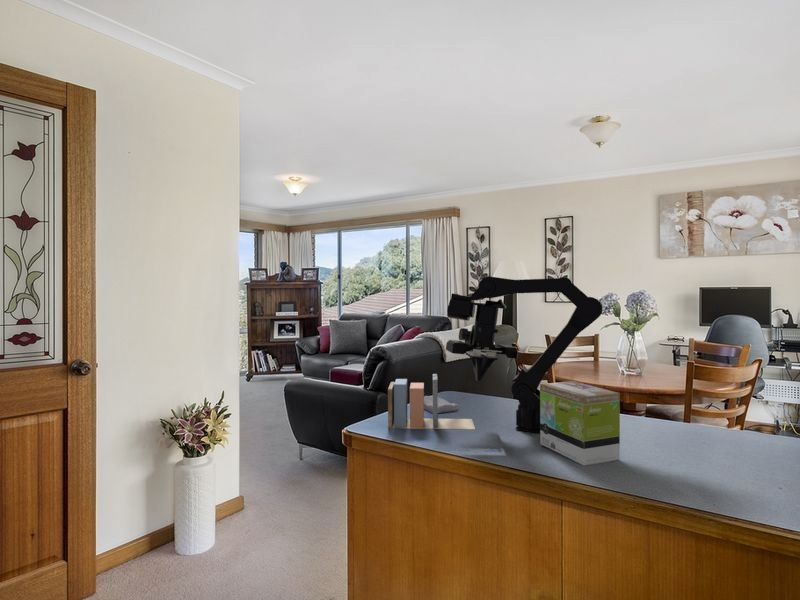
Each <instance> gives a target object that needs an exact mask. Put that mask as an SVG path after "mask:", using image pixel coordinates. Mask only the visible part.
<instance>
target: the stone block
mask: <svg viewBox="0 0 800 600" xmlns="http://www.w3.org/2000/svg"><path fill="white" fill-rule="evenodd" d="M425 410H426V411H427V412H429V413H431V414H433V395H424V411H425ZM458 410H459V409H458V404H457V403H454V402H453V403H451V402H448V401H447V400H446V399H444V398H442V397H439V396H438V414H440V413H446V412H456V411H458Z"/></svg>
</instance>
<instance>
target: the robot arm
mask: <svg viewBox="0 0 800 600" xmlns="http://www.w3.org/2000/svg"><path fill="white" fill-rule="evenodd" d="M477 285H478V286H477V289H476V290H474V292H473V293H471V294H470V295H463V294H460V293H451V297H450V299H449V303H448V305H447V309H446V311H447V312H446V313H447V314H446V315H447V317H448V318H449V319H455V320H461V321H468V322H469V321H470V319H473V318H474V317H475V318H474V319H475V321H474V324H472V327H471V330H469V329H468V328H464V327H461V328H460V329H459V331H458V340H455V339H449V340H448V341H447V342H446V345H445V350H446V351H447V352H449V353H451V354H455V355H457V354H458V355H465V356H468V357H469V358H470V361H471V363H472V368H473V373H474V376H475V381H476V382H482V379H483V377H484V376H485V374H486V373H487V371H488V369H489V368H490V367H491V365H492V364H493V363H494V362H495V361H498V357H497V355H504V356H505V357H506V358H507V359H517V360H518V358H519V350H518V348H517V347H515V346H513V345H510V344H501V343H497V345H496V344H495V339H496V334H498V331H499V329H498V328H497V323H498V315H499V310H500V309H503V310H504V309H507V305H506V304H505V303H504V301H503V299H501V298H500V297H504V296H505V297H506V296H509V295H515V294H541V293H543V294H544V293H560V294H562V295H563V296H564V297H565V298H567V299H568V300H569V301H570V302H571V303H572V304H573V305H574V306H575V308H574V311H573V312H572V314H571V316H570V318H569V319H568V321H567V323H566V325H564V327H563V328H562V329H561V331H560V332H559V333H558V335H556V336H555V338H554V339H553V340H552V341H551V343H550V344H549V345H548V347H546V348H545V350H544V351H543V352H542V354H541V355H540V356H539V357H538V359H537V360H536V361H535V363H534V364H532V365H531V366H529V367H528V368H527V367H526V366H525V365H523V366H522V368H521V369H520V371H519V373H518V374H516V375H515V376H514V377H513V379H512V382H513V383H512V385H511V394H512V396H513V397H514V398H515V400H517V401H518V403H519V404H517V409H516V410H515V424H516V426H515V430H517V431H523V432H524V431H525V432H529V433H530V432H531V433H536V434H540V390H539V389H538V388H539V387H540V384H541V382H542V380H543V379H544V377H545V375H546V374H547V372H548V371H549V370H550V369H551V368H552V367H553V365H554V364H555V363H556V362H557V360H558V359H559V358H560V357H561V355H562V354H563V353H564V352H565V351H566V350H567V349H568V348H569V346H570V345H571V344H572V342H573V341H574V340H575V339H576V337H577V336H579V334H580V333H581V332H583V331H584V330H586V329H587V328H588V327H589V326H591V325H592V323H594V322H595V321H596V320H597V319H599V318H600V316H601V315H602V313H603V310H604V309H603V305H602V302H601V301H599V298H595V297H591V296H587V294H585V292H583V291H582V290H581V289H580V288H578V287H577V286H576V285H575V284H574V283H573V282H572V280H571V279H570V278H568V277H565V276H562V277H558V278H554V277H553V278H532V279H531V278H527V279H511V278H503V277H496V276H490V275H489V276H484V277H483V278H481V280H480V281H479V283H478V284H477ZM495 298H499V299H498V300H496V301H495V300H489V299H495ZM485 299H487V300H485ZM482 300H485V301H484V302H485V303H481V302H478V301H482ZM475 301H477V302H475Z"/></svg>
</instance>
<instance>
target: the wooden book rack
mask: <svg viewBox="0 0 800 600" xmlns="http://www.w3.org/2000/svg"><path fill="white" fill-rule="evenodd" d="M394 383H395V381H390V383H389V386H388V388H387V428H388V429H404V430H405V429H414V430H418V429H419V430H420V429H421V430H422V429H424V430H425V429H427V430H428V429H429V430H430V429H431V430H435V429H436V430H437V429H438V430H476V427H475V425H474V421H473V419H472V418H438V427H433V418H424V427H410V417H409V418H408V417H407V424H406V427H394Z"/></svg>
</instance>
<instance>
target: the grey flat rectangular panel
mask: <svg viewBox="0 0 800 600" xmlns="http://www.w3.org/2000/svg"><path fill="white" fill-rule="evenodd" d="M438 382H439V381H438V374H437V373H433V374H432V396H433V413H432V419H433V427H438V419H439V418H438V417H439V413H438V397H439V396H438V395H439V393H438V390H439V389H438Z"/></svg>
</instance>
